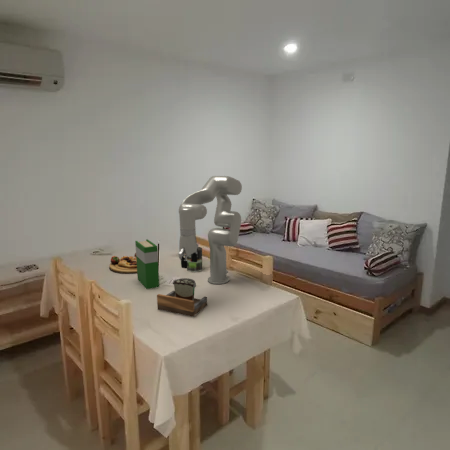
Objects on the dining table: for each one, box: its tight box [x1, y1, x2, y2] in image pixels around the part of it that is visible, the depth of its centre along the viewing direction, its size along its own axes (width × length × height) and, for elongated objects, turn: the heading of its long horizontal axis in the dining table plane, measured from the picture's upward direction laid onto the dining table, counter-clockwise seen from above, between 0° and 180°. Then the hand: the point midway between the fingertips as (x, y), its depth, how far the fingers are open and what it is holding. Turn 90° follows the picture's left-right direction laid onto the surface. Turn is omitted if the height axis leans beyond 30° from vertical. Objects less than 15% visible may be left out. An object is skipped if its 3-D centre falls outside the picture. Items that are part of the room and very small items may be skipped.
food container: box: [172, 277, 197, 301], centre depth 181 cm, size 12×6×10 cm, turn 68°
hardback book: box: [134, 238, 160, 290], centre depth 209 cm, size 18×7×24 cm, turn 29°
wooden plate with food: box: [109, 252, 137, 275], centre depth 242 cm, size 32×32×8 cm
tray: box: [156, 290, 208, 318], centre depth 178 cm, size 14×20×8 cm
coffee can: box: [186, 246, 203, 273], centre depth 233 cm, size 10×10×14 cm
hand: (189, 264), depth 182 cm, fingers open, 9 cm apart
